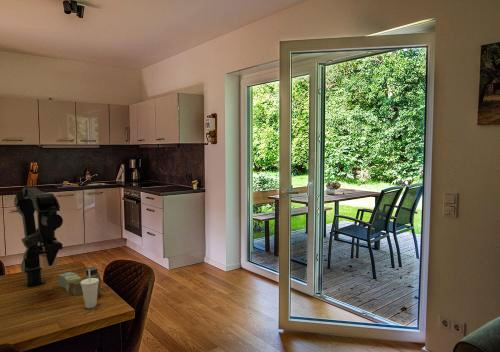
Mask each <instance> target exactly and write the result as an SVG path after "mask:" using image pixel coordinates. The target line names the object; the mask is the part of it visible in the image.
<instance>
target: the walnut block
mask: <svg viewBox="0 0 500 352" xmlns="http://www.w3.org/2000/svg"><path fill="white" fill-rule="evenodd" d="M82 280H84V278H81V277H80V279H76V280H73V281H70V282H68V287H69V292H68V295H71V296H73V297H77V296H81V295H83V291H82V286H81V285H80V284H81V283H80V282H81V281H82Z"/></svg>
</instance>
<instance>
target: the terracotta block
mask: <svg viewBox="0 0 500 352" xmlns="http://www.w3.org/2000/svg"><path fill="white" fill-rule="evenodd" d="M57 255H58V254H57ZM57 255H56V257H55V260H54V262H53V264H52V266H49V265H48V261H47V257H46V253H45V254H39V259H40V267H41V268H42V269H41V270H48V269H52V268H57V267H58V257H57Z"/></svg>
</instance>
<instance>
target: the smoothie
mask: <svg viewBox="0 0 500 352" xmlns="http://www.w3.org/2000/svg"><path fill="white" fill-rule="evenodd" d="M88 271H89V279H85V280H84V279H83V280H82V281H81V282H80V283H81V284H80V285H81V286H82V291H83V294H82V295H83V301H84V306H85V307H84V308H86V309H94V308H96V307H97V302H98V301H97V299H98V297H97V291H98V283H99V279H97V278H90V270H88Z"/></svg>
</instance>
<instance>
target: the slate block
mask: <svg viewBox="0 0 500 352" xmlns="http://www.w3.org/2000/svg"><path fill="white" fill-rule="evenodd" d="M74 275H78V273H76V272H71V271H68V272H65V273H62V274H59V275H58V284H59V287H60V288H64V289H65V277H69V276H74Z"/></svg>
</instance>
